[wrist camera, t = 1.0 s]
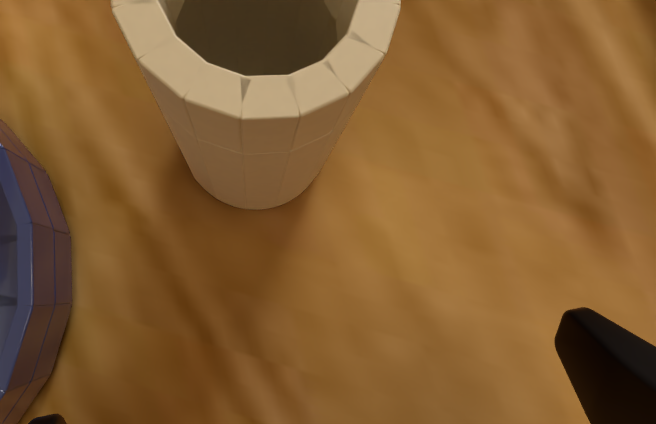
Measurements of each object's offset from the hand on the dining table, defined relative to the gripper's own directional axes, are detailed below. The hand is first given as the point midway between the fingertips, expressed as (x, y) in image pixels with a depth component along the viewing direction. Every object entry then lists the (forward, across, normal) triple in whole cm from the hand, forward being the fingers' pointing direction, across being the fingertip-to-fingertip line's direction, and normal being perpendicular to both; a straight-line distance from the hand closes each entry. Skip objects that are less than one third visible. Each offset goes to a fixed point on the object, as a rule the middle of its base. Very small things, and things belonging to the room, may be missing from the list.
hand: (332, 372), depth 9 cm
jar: (+15, 0, +4) cm, 16 cm away
